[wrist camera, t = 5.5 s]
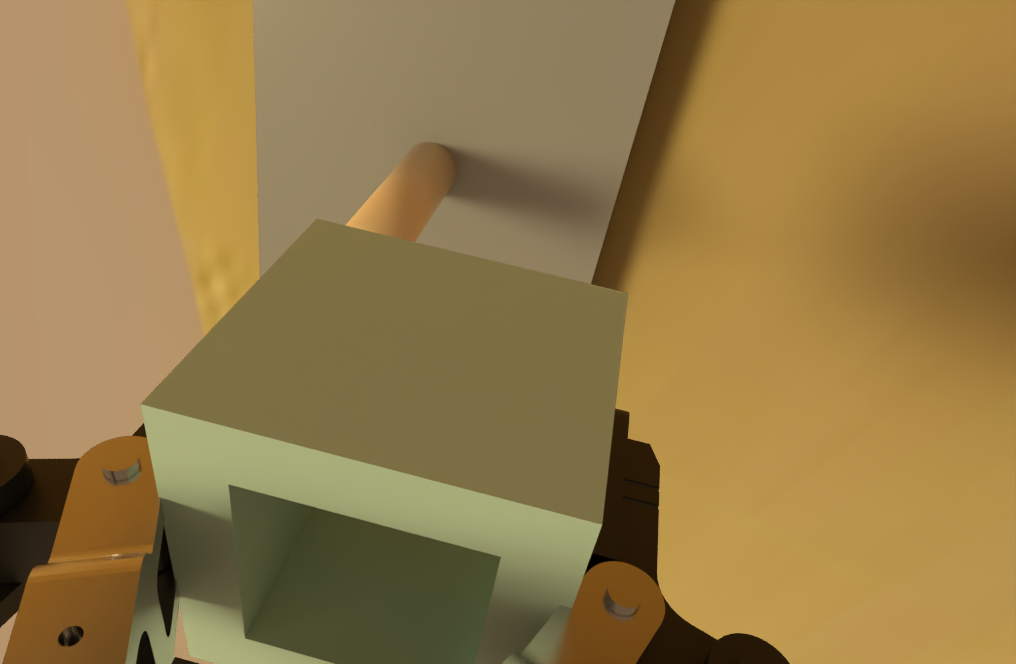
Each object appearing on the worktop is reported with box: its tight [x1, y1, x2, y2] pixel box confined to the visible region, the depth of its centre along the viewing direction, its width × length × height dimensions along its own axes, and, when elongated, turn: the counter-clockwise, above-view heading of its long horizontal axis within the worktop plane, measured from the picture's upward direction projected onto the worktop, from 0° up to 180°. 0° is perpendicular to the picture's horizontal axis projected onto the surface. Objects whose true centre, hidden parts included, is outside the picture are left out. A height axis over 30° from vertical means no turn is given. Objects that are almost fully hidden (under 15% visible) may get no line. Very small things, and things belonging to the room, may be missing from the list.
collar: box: [141, 219, 628, 664], centre depth 13 cm, size 6×6×6 cm
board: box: [253, 0, 675, 284], centre depth 25 cm, size 16×14×8 cm
